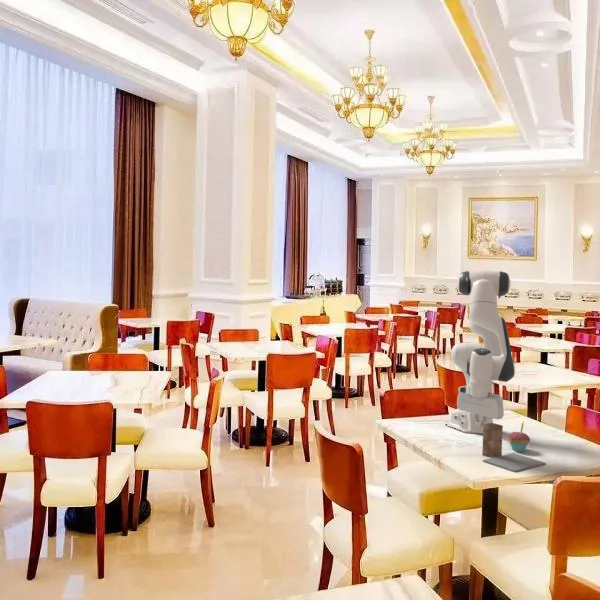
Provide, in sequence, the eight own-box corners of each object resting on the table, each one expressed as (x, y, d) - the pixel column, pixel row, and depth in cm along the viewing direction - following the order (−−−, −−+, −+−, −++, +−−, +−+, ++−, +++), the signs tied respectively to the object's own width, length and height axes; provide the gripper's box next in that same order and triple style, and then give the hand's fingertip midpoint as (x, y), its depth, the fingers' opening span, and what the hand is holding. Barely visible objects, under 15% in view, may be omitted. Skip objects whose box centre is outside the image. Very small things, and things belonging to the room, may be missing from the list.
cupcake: (534, 451, 240) (535, 421, 240) (519, 454, 236) (520, 423, 235) (516, 445, 248) (517, 416, 247) (502, 448, 243) (503, 418, 243)
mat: (482, 461, 225) (482, 459, 225) (513, 454, 235) (513, 452, 235) (514, 472, 214) (514, 470, 214) (545, 464, 224) (545, 462, 224)
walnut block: (481, 454, 234) (482, 424, 233) (490, 453, 236) (491, 422, 236) (492, 458, 229) (494, 427, 229) (501, 456, 232) (502, 425, 232)
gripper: (508, 394, 230) (506, 430, 231) (465, 385, 247) (464, 419, 248) (497, 396, 227) (495, 432, 227) (455, 387, 244) (453, 421, 244)
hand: (479, 425), depth 238 cm, fingers closed
